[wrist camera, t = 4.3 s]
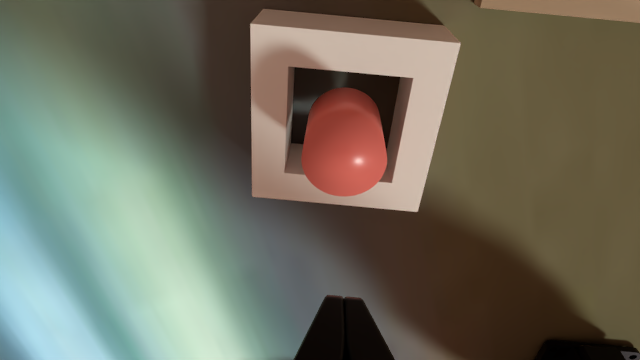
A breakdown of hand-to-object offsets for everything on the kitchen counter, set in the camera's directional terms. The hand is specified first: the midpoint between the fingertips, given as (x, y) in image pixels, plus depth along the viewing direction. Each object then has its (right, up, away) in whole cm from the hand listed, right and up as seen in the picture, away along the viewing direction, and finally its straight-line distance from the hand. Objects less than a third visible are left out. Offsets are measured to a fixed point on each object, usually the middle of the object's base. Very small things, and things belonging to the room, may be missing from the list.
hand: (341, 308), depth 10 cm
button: (+1, +6, +10) cm, 11 cm away
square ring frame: (+1, +7, +11) cm, 13 cm away
